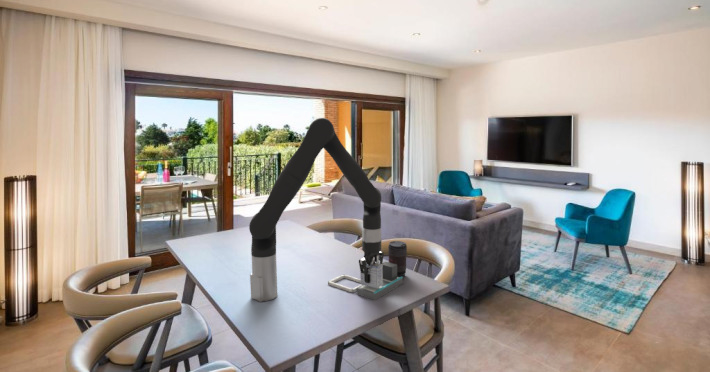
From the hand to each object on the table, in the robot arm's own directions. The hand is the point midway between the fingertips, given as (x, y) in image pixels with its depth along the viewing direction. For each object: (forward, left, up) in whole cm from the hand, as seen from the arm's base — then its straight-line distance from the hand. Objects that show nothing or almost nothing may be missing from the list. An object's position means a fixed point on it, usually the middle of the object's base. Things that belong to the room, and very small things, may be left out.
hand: (371, 280), depth 145 cm
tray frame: (+1, +13, -5) cm, 14 cm away
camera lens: (+22, +2, -6) cm, 23 cm away
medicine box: (0, 0, -2) cm, 2 cm away
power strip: (+6, 0, -5) cm, 8 cm away
